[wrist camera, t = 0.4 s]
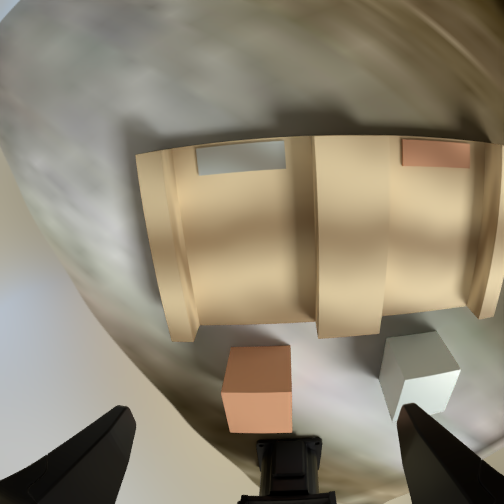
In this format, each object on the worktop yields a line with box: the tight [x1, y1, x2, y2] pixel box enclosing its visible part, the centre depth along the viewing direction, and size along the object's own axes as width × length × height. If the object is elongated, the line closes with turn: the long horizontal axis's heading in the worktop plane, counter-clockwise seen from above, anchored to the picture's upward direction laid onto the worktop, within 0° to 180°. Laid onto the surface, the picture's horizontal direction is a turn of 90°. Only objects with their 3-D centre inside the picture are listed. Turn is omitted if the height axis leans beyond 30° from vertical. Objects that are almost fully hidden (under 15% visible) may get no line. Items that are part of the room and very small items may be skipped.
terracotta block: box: [221, 345, 292, 433], centre depth 22 cm, size 4×4×5 cm
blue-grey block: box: [379, 331, 461, 422], centre depth 21 cm, size 4×4×5 cm
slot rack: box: [135, 135, 504, 342], centre depth 18 cm, size 12×23×3 cm, turn 95°
